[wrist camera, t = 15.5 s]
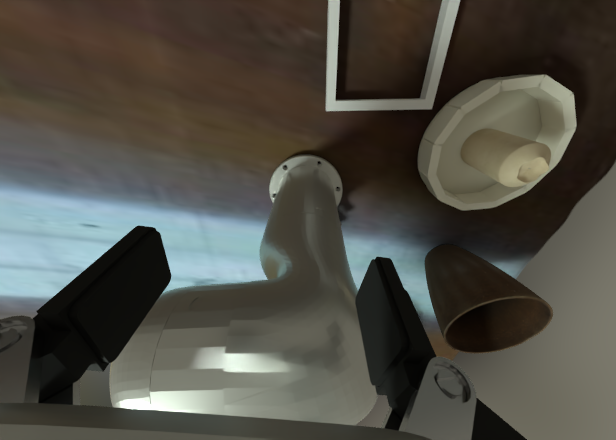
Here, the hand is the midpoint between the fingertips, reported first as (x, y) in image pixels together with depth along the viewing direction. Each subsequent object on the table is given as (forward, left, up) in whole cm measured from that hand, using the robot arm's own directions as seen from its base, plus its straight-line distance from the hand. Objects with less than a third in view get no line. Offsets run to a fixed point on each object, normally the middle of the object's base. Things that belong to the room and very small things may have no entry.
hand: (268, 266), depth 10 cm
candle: (-18, -21, -28) cm, 39 cm away
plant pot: (-38, -9, -28) cm, 48 cm away
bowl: (-18, -21, -28) cm, 40 cm away
